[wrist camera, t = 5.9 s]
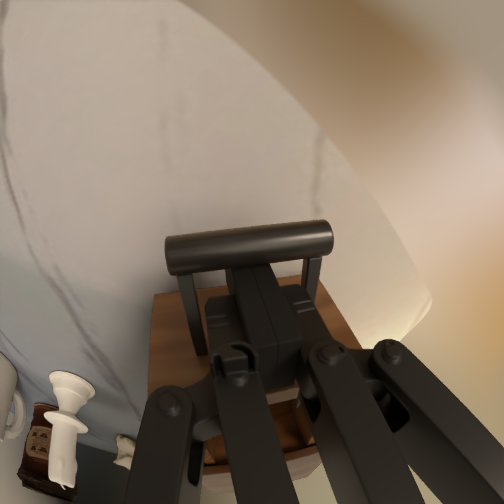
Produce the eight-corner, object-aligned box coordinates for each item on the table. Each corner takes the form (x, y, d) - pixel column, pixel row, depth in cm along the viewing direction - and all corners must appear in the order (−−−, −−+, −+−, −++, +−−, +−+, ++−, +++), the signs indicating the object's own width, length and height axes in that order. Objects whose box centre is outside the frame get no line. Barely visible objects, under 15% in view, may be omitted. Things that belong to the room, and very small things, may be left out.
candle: (101, 385, 22) (96, 496, 12) (87, 402, 23) (82, 496, 13) (54, 363, 19) (34, 476, 9) (46, 382, 20) (31, 479, 10)
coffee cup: (24, 389, 21) (8, 479, 10) (83, 411, 24) (78, 504, 13) (32, 413, 24) (23, 487, 13) (82, 431, 27) (80, 506, 16)
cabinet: (180, 380, 23) (190, 476, 15) (301, 361, 25) (336, 447, 17) (204, 432, 31) (215, 494, 23) (287, 418, 32) (307, 476, 24)
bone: (161, 424, 30) (173, 475, 23) (196, 453, 37) (209, 491, 30) (108, 435, 28) (114, 483, 21) (152, 463, 35) (161, 500, 28)
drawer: (130, 198, 13) (83, 302, 6) (325, 180, 14) (419, 254, 8) (191, 397, 23) (200, 470, 17) (295, 380, 25) (321, 447, 18)
